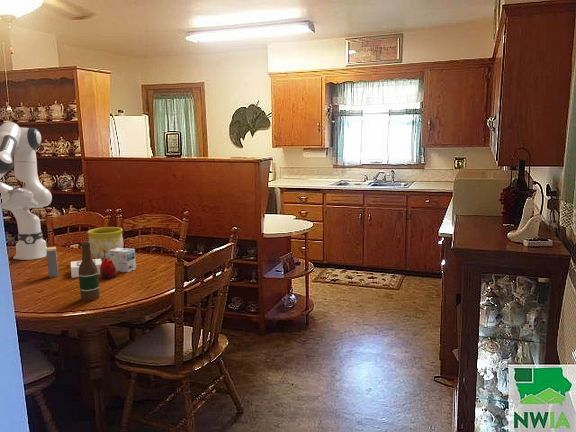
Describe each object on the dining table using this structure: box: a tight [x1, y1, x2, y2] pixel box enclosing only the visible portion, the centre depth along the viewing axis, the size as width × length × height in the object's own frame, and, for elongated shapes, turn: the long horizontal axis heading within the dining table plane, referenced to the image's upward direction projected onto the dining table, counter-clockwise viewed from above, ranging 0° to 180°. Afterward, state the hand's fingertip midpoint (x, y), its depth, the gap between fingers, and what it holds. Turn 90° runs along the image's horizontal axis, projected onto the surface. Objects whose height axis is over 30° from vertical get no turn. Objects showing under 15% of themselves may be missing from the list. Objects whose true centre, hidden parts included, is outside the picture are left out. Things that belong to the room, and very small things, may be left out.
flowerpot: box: [87, 226, 124, 262], centre depth 259 cm, size 18×18×16 cm
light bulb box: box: [110, 247, 137, 273], centre depth 238 cm, size 11×7×11 cm, turn 71°
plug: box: [46, 246, 59, 279], centre depth 229 cm, size 4×4×14 cm
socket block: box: [70, 259, 102, 279], centre depth 235 cm, size 12×14×5 cm
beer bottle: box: [78, 241, 100, 302], centre depth 196 cm, size 8×8×24 cm
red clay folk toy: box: [99, 249, 117, 280], centre depth 226 cm, size 8×7×15 cm
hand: (32, 207), depth 230 cm, fingers open, 8 cm apart
